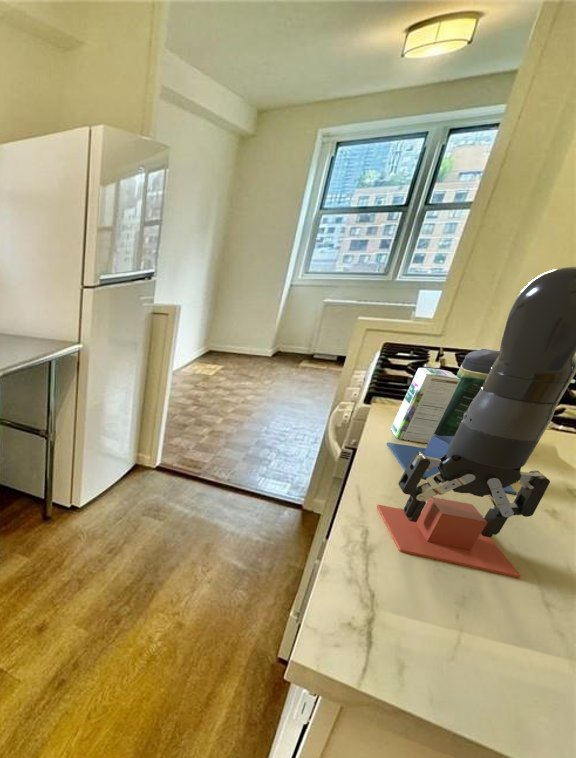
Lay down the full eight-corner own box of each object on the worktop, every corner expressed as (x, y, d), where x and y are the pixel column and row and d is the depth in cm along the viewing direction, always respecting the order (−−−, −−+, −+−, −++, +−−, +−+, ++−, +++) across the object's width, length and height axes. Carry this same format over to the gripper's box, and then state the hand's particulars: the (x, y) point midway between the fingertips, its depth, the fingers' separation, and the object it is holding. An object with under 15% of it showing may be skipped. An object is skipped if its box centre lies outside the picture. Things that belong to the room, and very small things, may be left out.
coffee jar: (477, 448, 99) (524, 360, 91) (427, 436, 104) (468, 352, 96) (478, 434, 106) (522, 351, 97) (431, 424, 111) (469, 343, 102)
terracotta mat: (478, 526, 75) (479, 524, 75) (519, 578, 64) (521, 575, 64) (376, 506, 80) (377, 504, 79) (399, 551, 69) (400, 549, 69)
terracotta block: (457, 532, 73) (472, 504, 71) (470, 551, 69) (487, 522, 66) (415, 523, 75) (429, 496, 72) (426, 541, 71) (441, 513, 68)
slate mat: (479, 458, 95) (479, 456, 95) (516, 494, 83) (517, 492, 83) (386, 443, 101) (387, 442, 101) (408, 475, 89) (409, 474, 89)
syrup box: (389, 429, 108) (416, 366, 101) (422, 434, 105) (452, 370, 99) (395, 439, 103) (424, 373, 97) (430, 444, 101) (462, 378, 94)
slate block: (448, 459, 94) (460, 436, 92) (469, 472, 90) (482, 448, 87) (421, 458, 94) (432, 435, 92) (441, 470, 90) (453, 446, 88)
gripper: (443, 427, 63) (394, 527, 71) (593, 448, 58) (523, 554, 65) (424, 407, 69) (381, 502, 77) (558, 425, 64) (498, 525, 71)
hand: (446, 526), depth 71 cm, fingers open, 8 cm apart
